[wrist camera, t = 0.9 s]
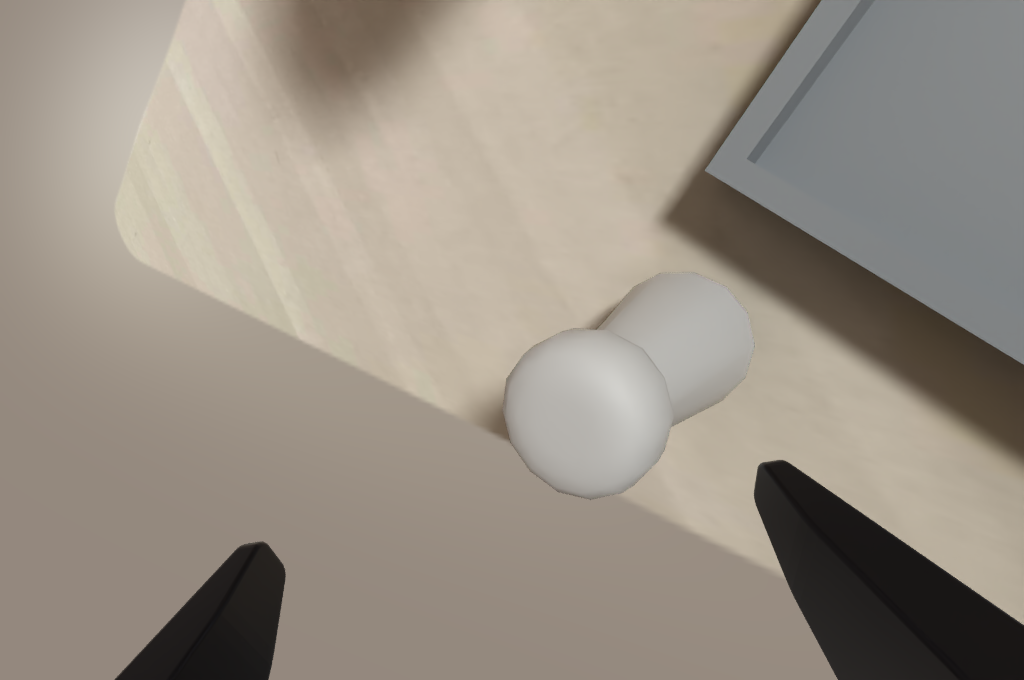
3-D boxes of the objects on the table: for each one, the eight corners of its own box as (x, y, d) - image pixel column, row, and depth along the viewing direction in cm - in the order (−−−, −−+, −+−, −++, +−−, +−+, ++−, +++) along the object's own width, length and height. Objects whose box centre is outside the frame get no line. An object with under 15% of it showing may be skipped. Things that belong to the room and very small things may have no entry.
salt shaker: (629, 385, 25) (471, 508, 14) (628, 269, 23) (455, 307, 13) (759, 399, 21) (683, 573, 11) (765, 266, 20) (686, 313, 10)
